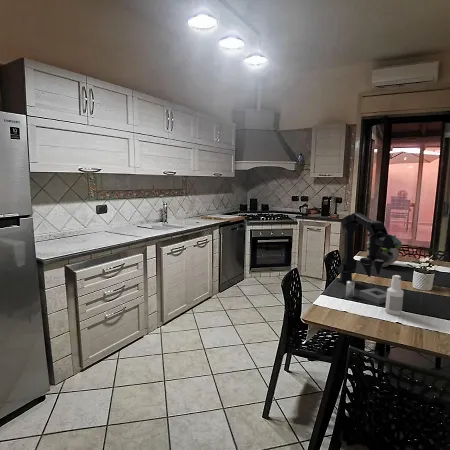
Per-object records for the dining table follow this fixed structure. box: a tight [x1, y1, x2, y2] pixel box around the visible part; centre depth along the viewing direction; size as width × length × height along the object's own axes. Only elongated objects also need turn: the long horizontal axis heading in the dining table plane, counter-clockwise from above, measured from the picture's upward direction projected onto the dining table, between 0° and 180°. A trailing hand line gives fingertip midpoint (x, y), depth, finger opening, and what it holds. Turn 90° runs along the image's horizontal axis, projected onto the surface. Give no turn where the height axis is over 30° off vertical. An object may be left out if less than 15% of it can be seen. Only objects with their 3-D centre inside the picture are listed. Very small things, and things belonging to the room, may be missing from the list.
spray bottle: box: [384, 274, 404, 316], centre depth 146 cm, size 7×7×18 cm
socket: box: [358, 287, 387, 305], centre depth 165 cm, size 12×12×3 cm
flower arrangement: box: [366, 233, 403, 268], centre depth 228 cm, size 25×25×24 cm
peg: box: [345, 280, 356, 298], centre depth 168 cm, size 4×4×8 cm
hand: (373, 275), depth 163 cm, fingers open, 9 cm apart
